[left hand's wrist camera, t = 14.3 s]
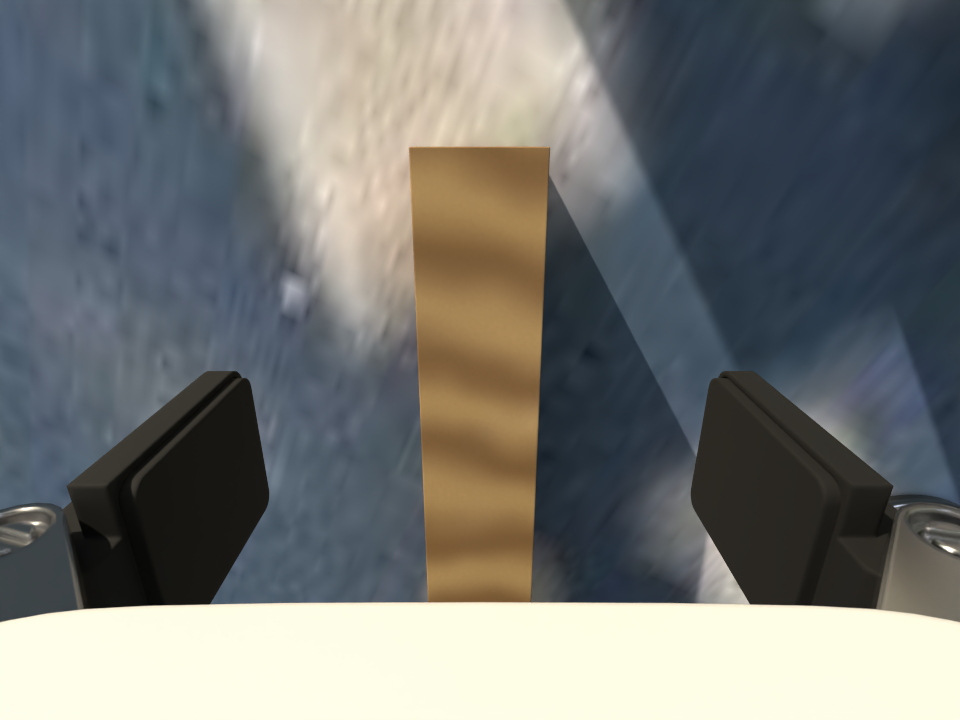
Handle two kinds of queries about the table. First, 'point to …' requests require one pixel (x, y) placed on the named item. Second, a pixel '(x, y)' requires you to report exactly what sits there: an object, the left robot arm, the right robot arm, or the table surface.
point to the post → (479, 362)
